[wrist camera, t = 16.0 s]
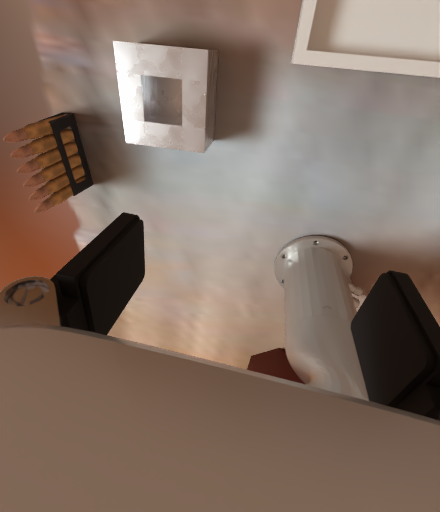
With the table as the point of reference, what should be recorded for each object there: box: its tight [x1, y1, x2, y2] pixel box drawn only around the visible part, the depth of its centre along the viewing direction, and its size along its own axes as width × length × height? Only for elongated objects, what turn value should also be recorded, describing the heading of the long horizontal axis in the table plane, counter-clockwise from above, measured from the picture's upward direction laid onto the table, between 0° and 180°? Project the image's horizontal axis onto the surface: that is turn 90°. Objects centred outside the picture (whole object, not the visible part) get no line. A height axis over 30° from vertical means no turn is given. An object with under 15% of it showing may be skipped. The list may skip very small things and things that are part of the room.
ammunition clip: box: [3, 113, 93, 213], centre depth 38 cm, size 11×2×12 cm, turn 0°
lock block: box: [113, 41, 219, 153], centre depth 33 cm, size 10×10×6 cm
